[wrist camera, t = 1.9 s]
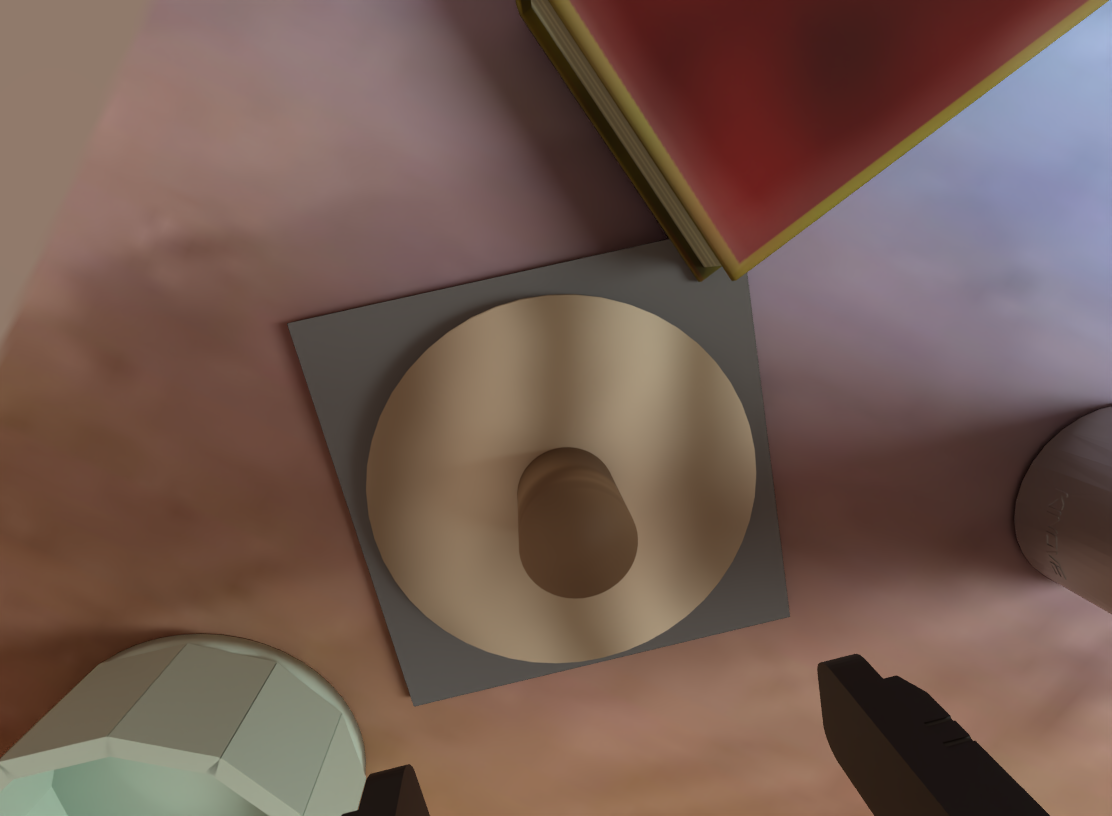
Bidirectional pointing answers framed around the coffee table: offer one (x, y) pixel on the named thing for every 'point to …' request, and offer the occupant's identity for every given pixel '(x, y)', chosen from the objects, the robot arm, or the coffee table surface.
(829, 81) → the hardcover book
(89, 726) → the bowl
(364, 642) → the coffee table surface
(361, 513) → the mat
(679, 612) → the lid
